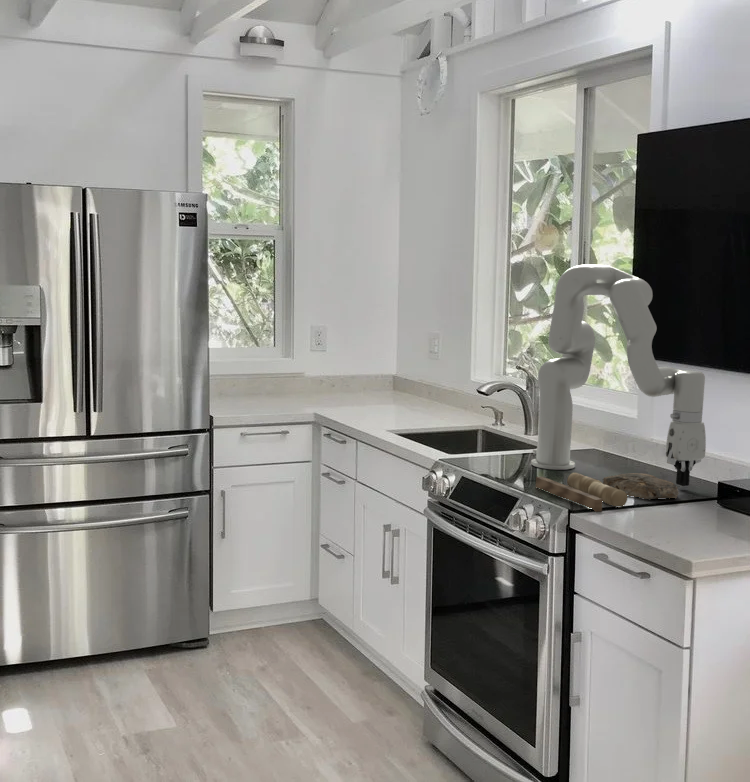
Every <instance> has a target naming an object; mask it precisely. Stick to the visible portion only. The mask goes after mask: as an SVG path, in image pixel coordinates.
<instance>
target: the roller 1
mask: <svg viewBox="0 0 750 782" xmlns="http://www.w3.org/2000/svg"><path fill="white" fill-rule="evenodd" d="M566 480H567V481H566V486H569V487H572V488H574V489H577V490H580V491H582V492H585V493H587V494H588V489H589V486H590V485H591V484H592V483H593V482H599V483H602V484H603V481H601V480H598V479H596V478H593V477H590V476H587V475H584V474H581V473H579V472H571V473H570V474H569V475H568V477H567V479H566Z"/></svg>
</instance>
